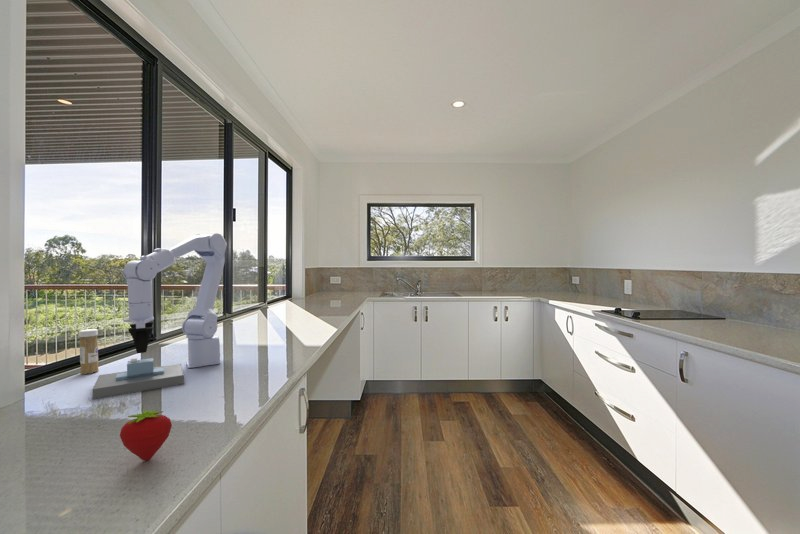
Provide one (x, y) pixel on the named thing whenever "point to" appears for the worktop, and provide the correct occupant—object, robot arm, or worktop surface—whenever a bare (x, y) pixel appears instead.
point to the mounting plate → (137, 382)
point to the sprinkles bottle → (88, 351)
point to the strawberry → (145, 433)
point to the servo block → (139, 369)
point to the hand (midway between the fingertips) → (141, 349)
